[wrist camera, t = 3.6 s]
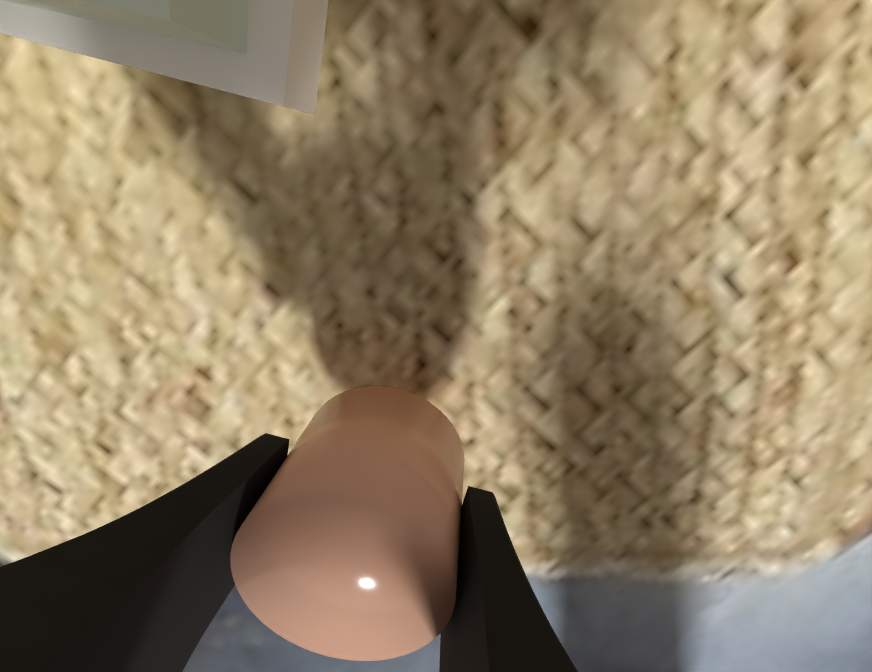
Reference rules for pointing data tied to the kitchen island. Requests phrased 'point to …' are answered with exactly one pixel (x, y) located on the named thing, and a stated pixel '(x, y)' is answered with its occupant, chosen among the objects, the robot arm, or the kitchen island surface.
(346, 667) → the kitchen island surface
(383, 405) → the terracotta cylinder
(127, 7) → the tower top
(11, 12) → the tower base
